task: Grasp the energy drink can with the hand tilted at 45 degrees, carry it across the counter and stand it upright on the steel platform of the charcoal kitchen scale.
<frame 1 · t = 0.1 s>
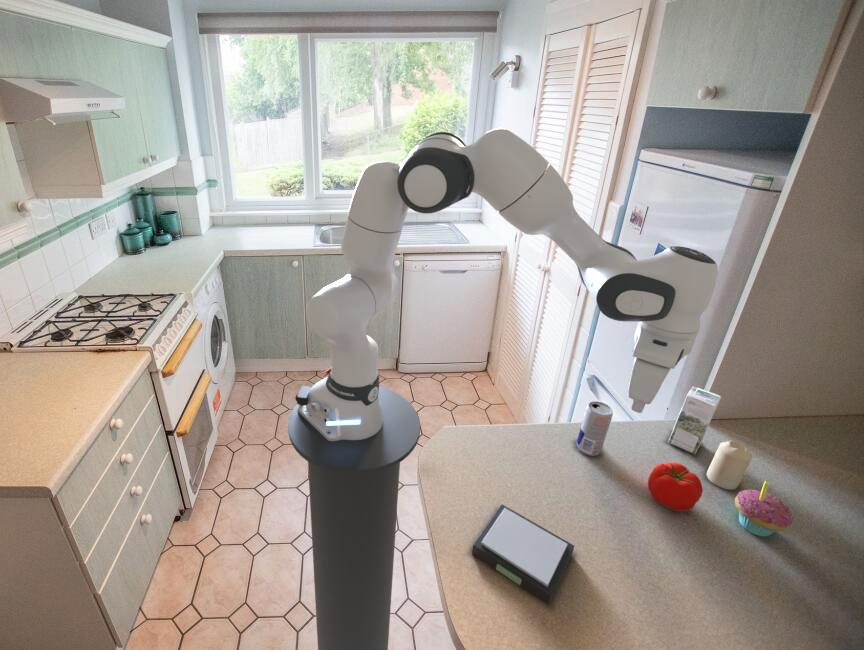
hand: (642, 398, 88), 23 cm above the countertop, tool pointing down, fingers open, 8 cm apart
candle: (721, 480, 99), on the countertop
tomato: (667, 500, 94), on the countertop
cupcake: (753, 526, 89), on the countertop
scale: (521, 554, 83), on the countertop
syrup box: (683, 444, 109), on the countertop
energy drink: (587, 449, 108), on the countertop
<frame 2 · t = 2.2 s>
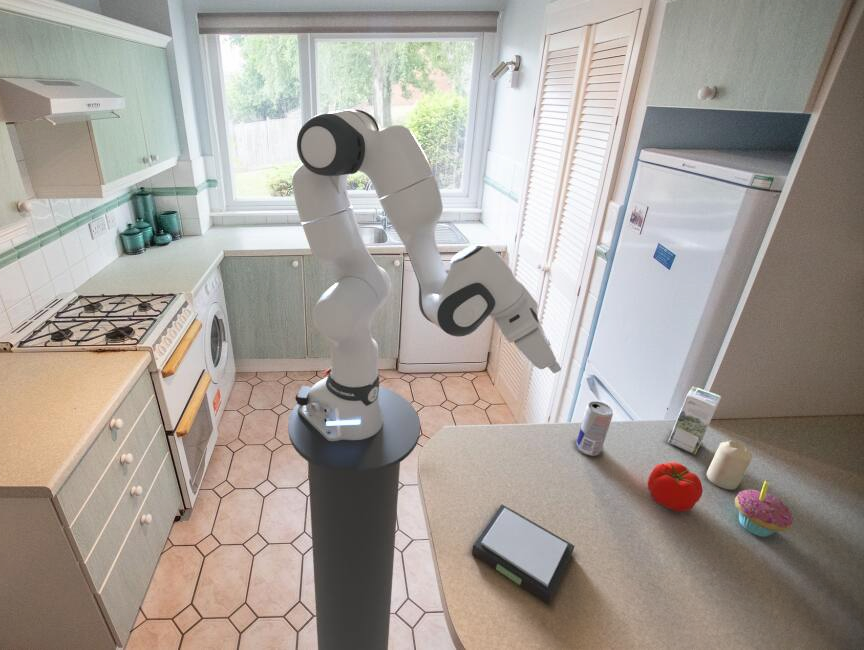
hand: (551, 357, 94), 27 cm above the countertop, tool tilted 40°, fingers open, 8 cm apart
nothing on the countertop moved.
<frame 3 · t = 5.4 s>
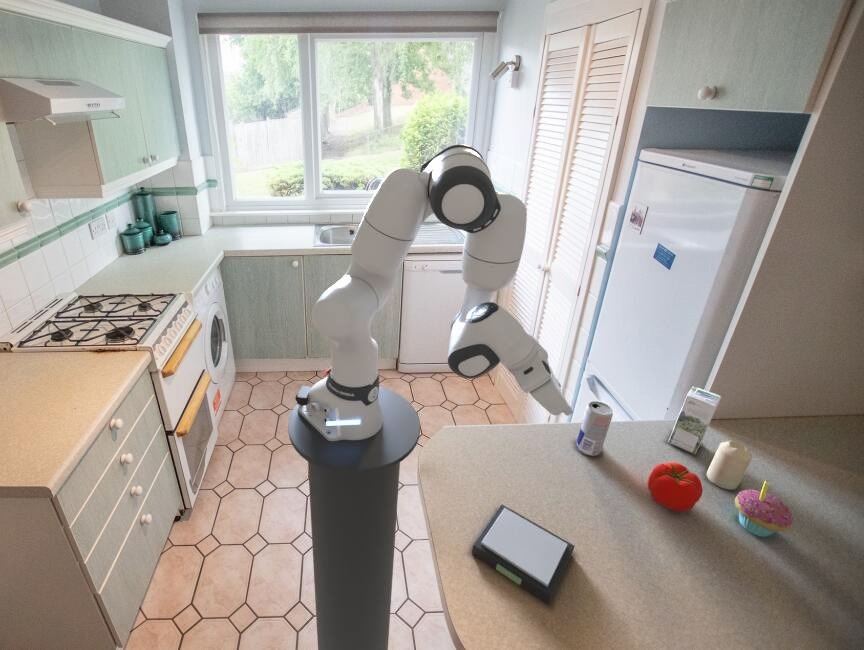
hand: (563, 399, 102), 14 cm above the countertop, tool tilted 45°, fingers open, 8 cm apart
nothing on the countertop moved.
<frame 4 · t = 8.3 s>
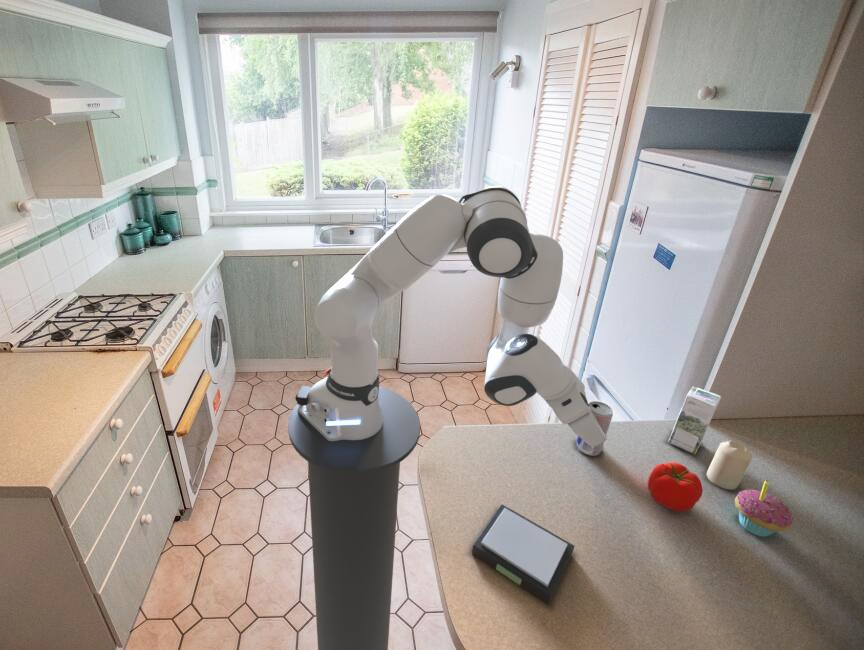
hand: (597, 427, 105), 6 cm above the countertop, tool tilted 45°, fingers closed on energy drink, 5 cm apart
energy drink: (587, 449, 108), on the countertop, touching gripper
everything else where it was.
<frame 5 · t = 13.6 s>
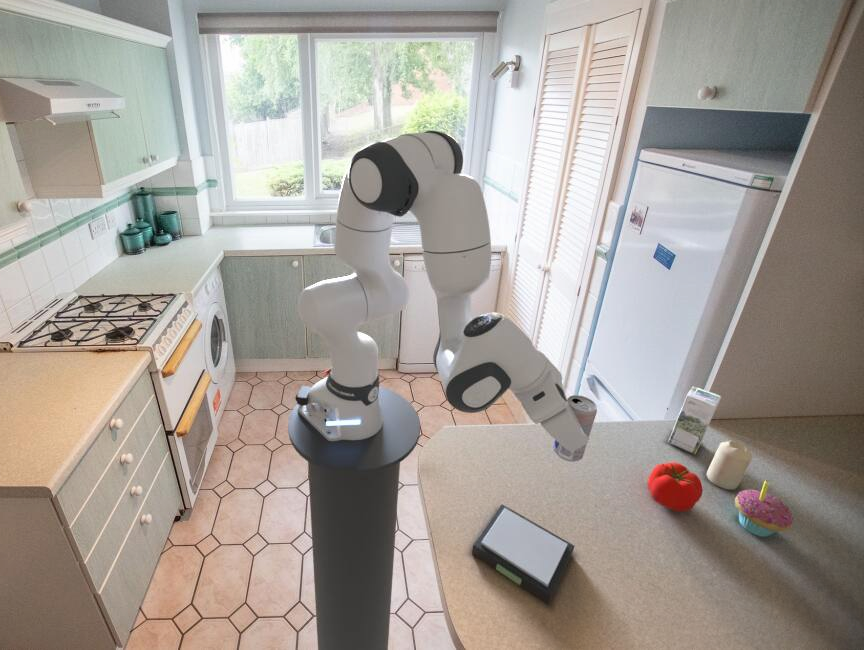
hand: (578, 427, 86), 19 cm above the countertop, tool tilted 45°, fingers closed on energy drink, 5 cm apart
energy drink: (567, 453, 89), point 13 cm above the countertop, touching gripper
everything else where it was.
when the fingers open (9 cm above the countertop, at t = 18.9 s): energy drink stays where it is, resting on scale.
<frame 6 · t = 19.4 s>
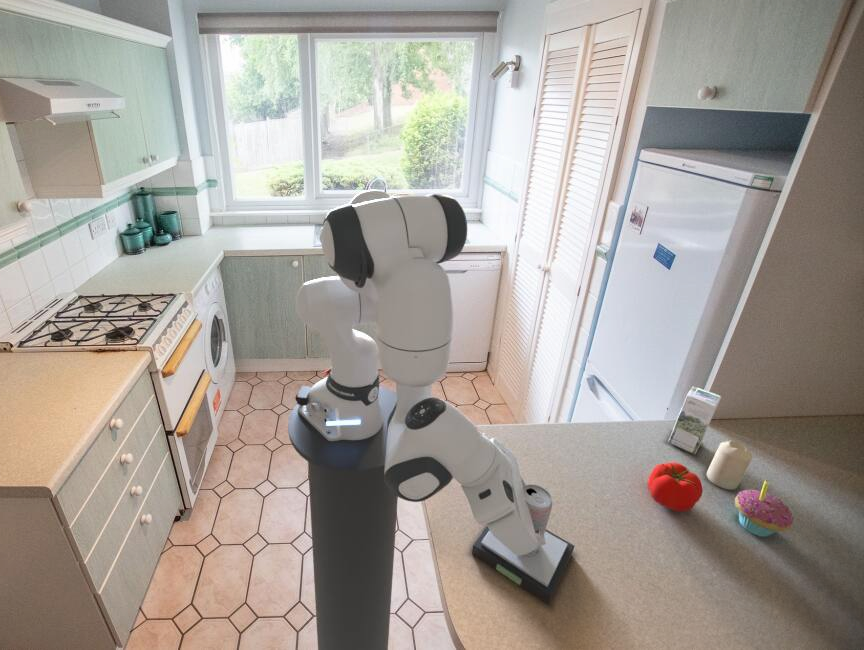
hand: (534, 517, 79), 10 cm above the countertop, tool tilted 45°, fingers open, 8 cm apart
energy drink: (524, 544, 82), point 3 cm above the countertop, touching scale
everything else where it was.
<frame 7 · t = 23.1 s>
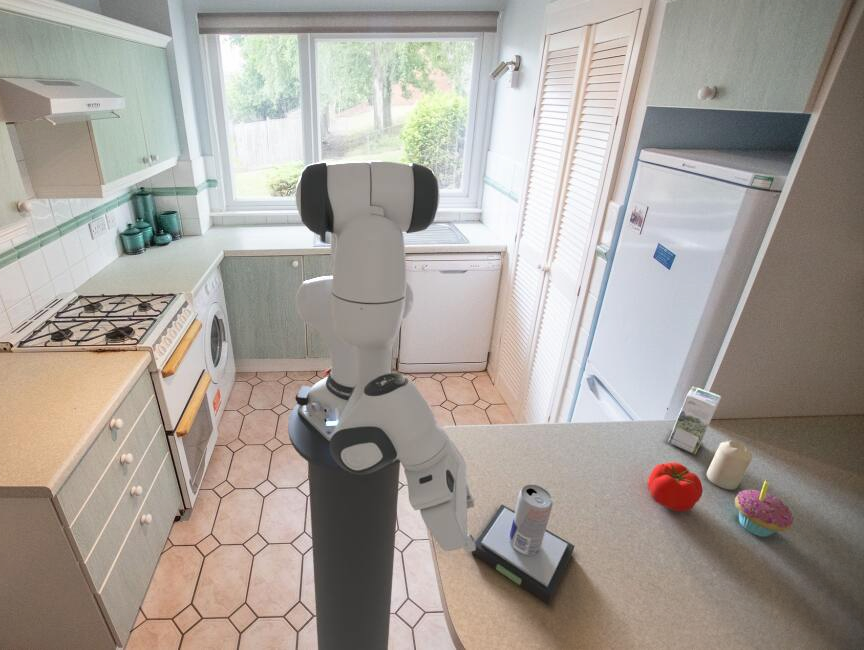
hand: (470, 525, 76), 11 cm above the countertop, tool tilted 35°, fingers open, 8 cm apart
nothing on the countertop moved.
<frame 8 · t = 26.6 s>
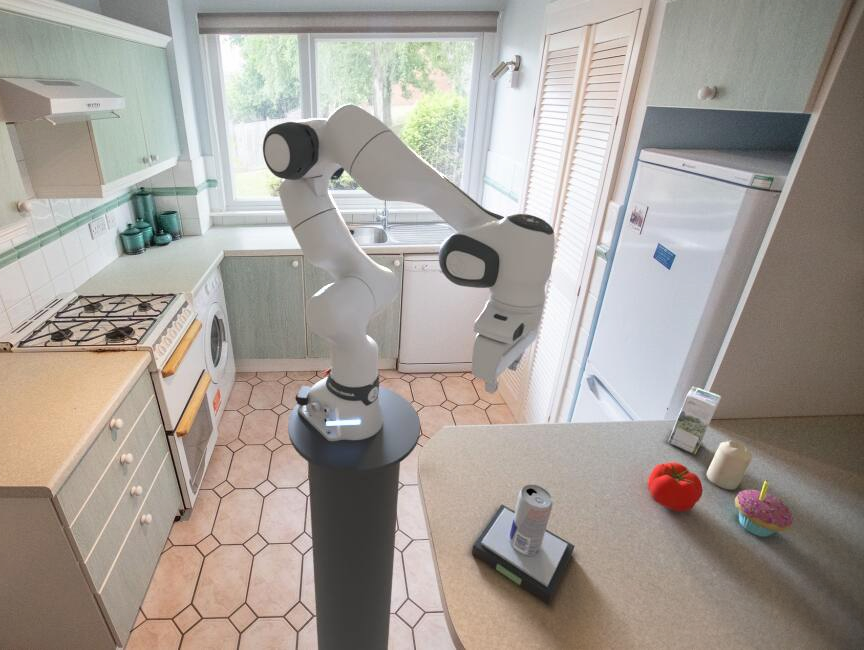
hand: (502, 379, 83), 29 cm above the countertop, tool pointing down, fingers open, 8 cm apart
nothing on the countertop moved.
at the end: energy drink inside the target area on the scale (0.1 cm from its centre), point 2.8 cm above the scale's base; energy drink tilted 0°; the gripper is holding nothing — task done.
